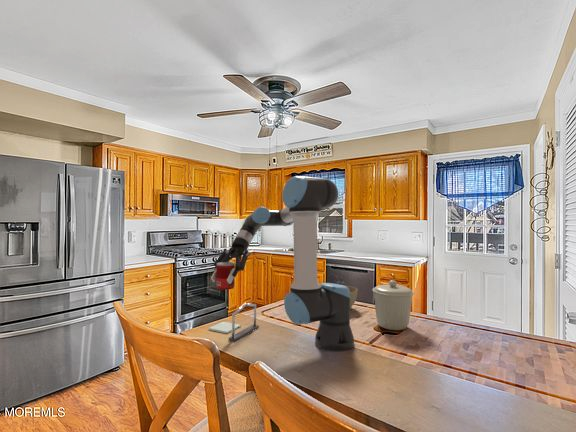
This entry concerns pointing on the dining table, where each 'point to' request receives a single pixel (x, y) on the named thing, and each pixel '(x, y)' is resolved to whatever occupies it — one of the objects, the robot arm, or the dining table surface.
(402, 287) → the canister
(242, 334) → the metal handle
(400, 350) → the dining table surface
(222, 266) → the canned food
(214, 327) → the sage mat
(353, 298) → the planter bowl
